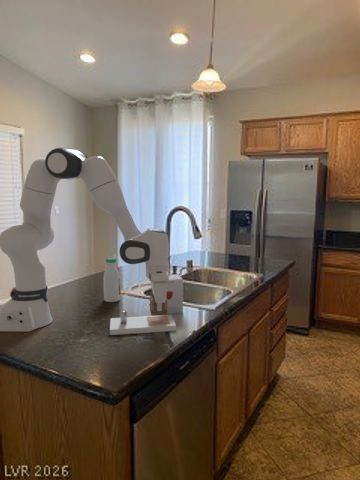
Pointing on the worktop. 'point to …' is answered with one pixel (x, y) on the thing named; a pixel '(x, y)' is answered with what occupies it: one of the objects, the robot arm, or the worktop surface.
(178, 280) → the supplement box
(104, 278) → the milk bottle
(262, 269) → the worktop surface
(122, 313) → the metal post
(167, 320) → the terracotta tile
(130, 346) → the worktop surface
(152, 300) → the walnut cap
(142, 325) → the white rectangular board
